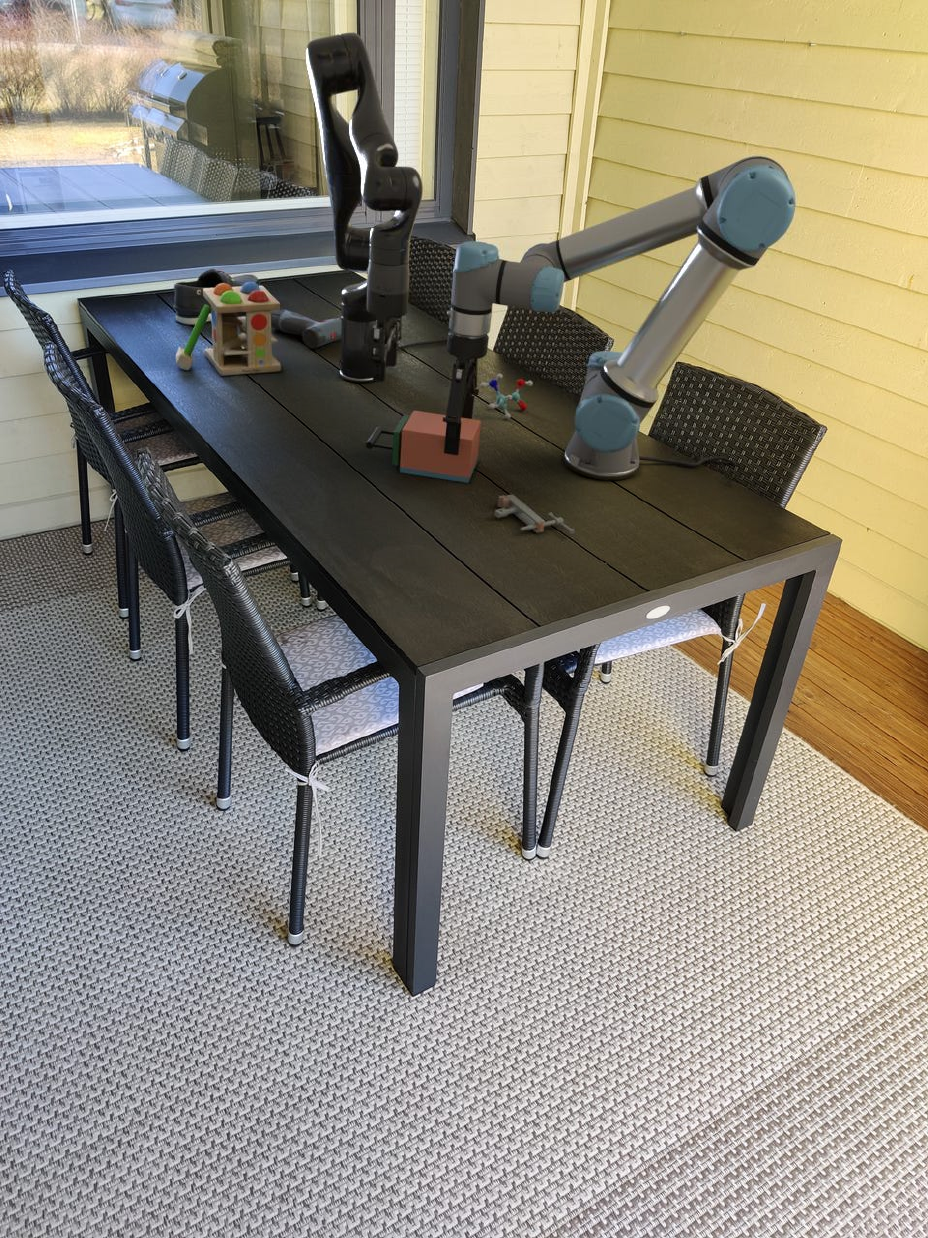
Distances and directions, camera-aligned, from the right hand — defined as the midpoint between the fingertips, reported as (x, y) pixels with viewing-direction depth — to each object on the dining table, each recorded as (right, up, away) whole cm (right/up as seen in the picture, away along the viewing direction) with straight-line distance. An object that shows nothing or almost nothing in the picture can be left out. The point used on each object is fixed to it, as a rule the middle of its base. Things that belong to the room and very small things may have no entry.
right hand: (457, 439), depth 191 cm
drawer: (-9, -3, +4) cm, 10 cm away
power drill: (-38, +39, +63) cm, 83 cm away
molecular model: (+10, +12, +30) cm, 34 cm away
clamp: (+13, -18, -13) cm, 25 cm away
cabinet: (-4, -5, +4) cm, 7 cm away
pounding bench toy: (-55, +25, +39) cm, 72 cm away
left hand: (-14, +12, -5) cm, 19 cm away
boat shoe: (-64, +49, +73) cm, 109 cm away
